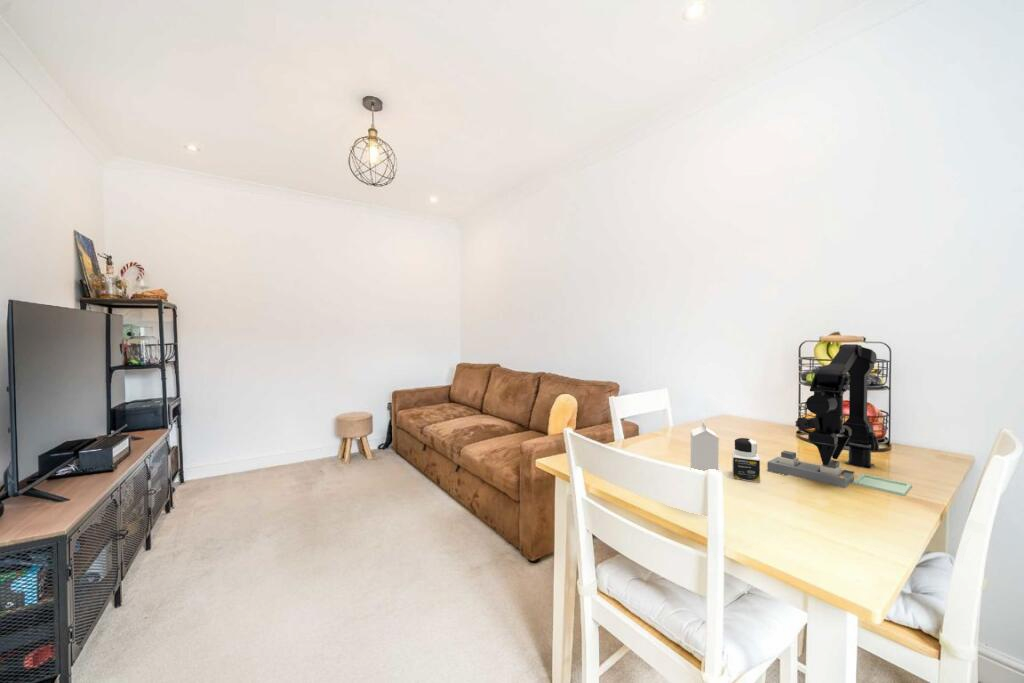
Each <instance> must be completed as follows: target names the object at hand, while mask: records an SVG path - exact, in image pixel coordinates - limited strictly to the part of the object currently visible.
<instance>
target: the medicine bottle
mask: <svg viewBox="0 0 1024 683" xmlns="http://www.w3.org/2000/svg"><path fill="white" fill-rule="evenodd" d="M731 452H732V458H731V459H732V466H731V468H732V469H731V470H732V472H731V473H732V478H733V479H734V478H737V479H736V480H739V479H742V480H741V481H746V480H748V481H747V482H753V481H755V483H760V481H761V460H760V456H759V454H758V443H757V441H756V440H753V439H751V438H747V437H740V438H739V437H738V438H736V439H734V450H732V451H731Z"/></svg>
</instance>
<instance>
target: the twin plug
mask: <svg viewBox="0 0 1024 683" xmlns="http://www.w3.org/2000/svg"><path fill="white" fill-rule="evenodd" d="M778 457H779V463H781V464H786V465H790V466H795V467H796V466H798V461H799V457H798V456H797V452H794V451H789V450H782V451H781V452H780V456H778Z"/></svg>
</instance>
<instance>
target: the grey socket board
mask: <svg viewBox="0 0 1024 683" xmlns="http://www.w3.org/2000/svg"><path fill="white" fill-rule="evenodd" d="M779 457H780V456H777V457H774V458H773V459H770V460H769V461H767V472H770V471H772V472H771V473H774V472H776V473H775V474H778V473H780V474H779V475H782V474H784V475H783V476H786V475H787V476H792V477H797V478H801V479H805V480H810V481H814V482H818V483H820V484H821V483H822V484H825V485H830V486H834V487H839V488H843V489H846V488H847V487H848V486H849V485H851V484H853V481H854V480H855V479H854V478H855V477H854V475H855V471H853V470H847V469H842V475H841V476H835V475H830V474H826V473H821V472H820V466H821V465H819V464H815V463H810V462H804V461H801V460H798V466H796V467H795V466H790V465H786V464H781V463H779Z"/></svg>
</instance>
